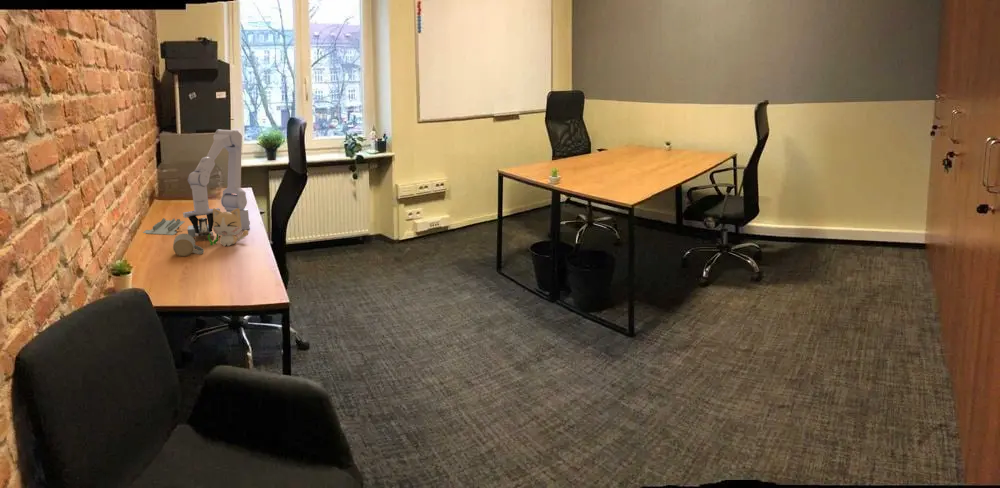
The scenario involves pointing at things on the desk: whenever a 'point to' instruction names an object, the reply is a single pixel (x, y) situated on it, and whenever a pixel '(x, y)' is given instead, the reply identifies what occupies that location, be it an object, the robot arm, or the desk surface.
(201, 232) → the pin
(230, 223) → the kitten
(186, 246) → the ceramic mug
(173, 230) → the metal bracket
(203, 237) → the mount
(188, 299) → the desk surface
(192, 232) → the dock
